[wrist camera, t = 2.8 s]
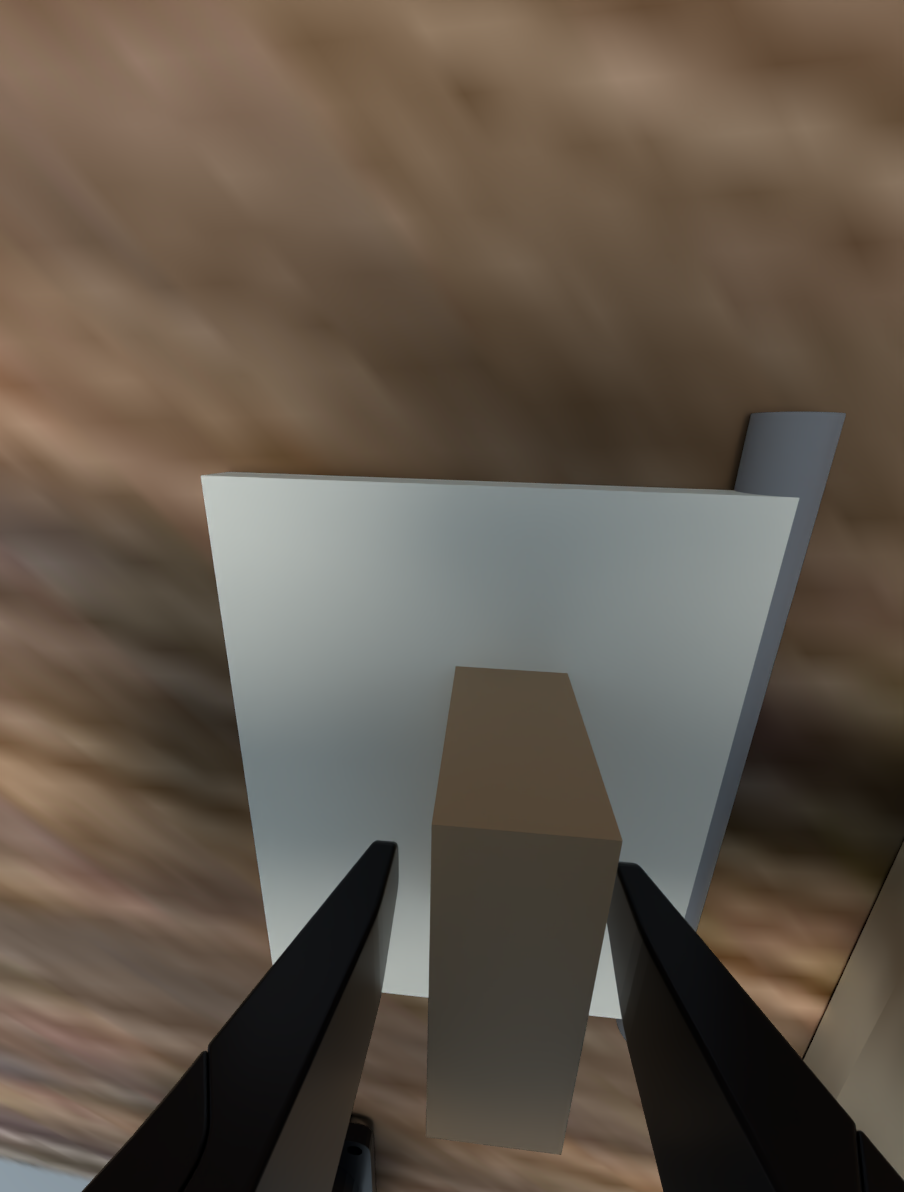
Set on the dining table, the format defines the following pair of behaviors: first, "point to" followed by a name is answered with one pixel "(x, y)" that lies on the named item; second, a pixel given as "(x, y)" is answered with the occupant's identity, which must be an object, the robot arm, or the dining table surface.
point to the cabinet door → (505, 726)
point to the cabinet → (870, 1027)
